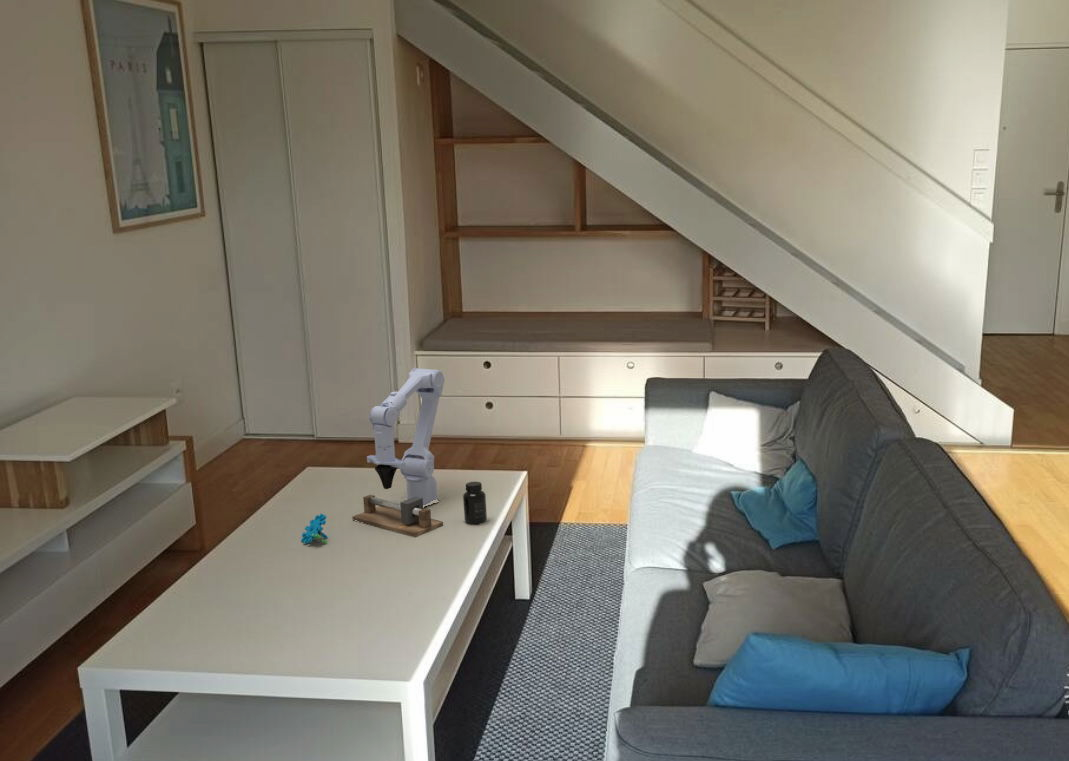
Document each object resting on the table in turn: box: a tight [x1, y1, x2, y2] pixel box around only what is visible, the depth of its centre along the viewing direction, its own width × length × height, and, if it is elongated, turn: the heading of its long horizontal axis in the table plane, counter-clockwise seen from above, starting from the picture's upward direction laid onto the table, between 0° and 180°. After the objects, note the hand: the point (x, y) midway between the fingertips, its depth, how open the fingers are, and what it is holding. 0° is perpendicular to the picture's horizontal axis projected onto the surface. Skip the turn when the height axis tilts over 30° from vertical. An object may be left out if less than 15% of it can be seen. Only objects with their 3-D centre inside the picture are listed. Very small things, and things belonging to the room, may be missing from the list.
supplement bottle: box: [462, 481, 488, 526], centre depth 303 cm, size 7×7×12 cm
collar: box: [399, 497, 424, 525], centre depth 300 cm, size 6×3×6 cm, turn 142°
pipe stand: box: [351, 494, 444, 538], centre depth 305 cm, size 12×27×6 cm, turn 52°
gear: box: [300, 512, 328, 545], centre depth 293 cm, size 11×6×10 cm
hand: (387, 488), depth 306 cm, fingers closed
